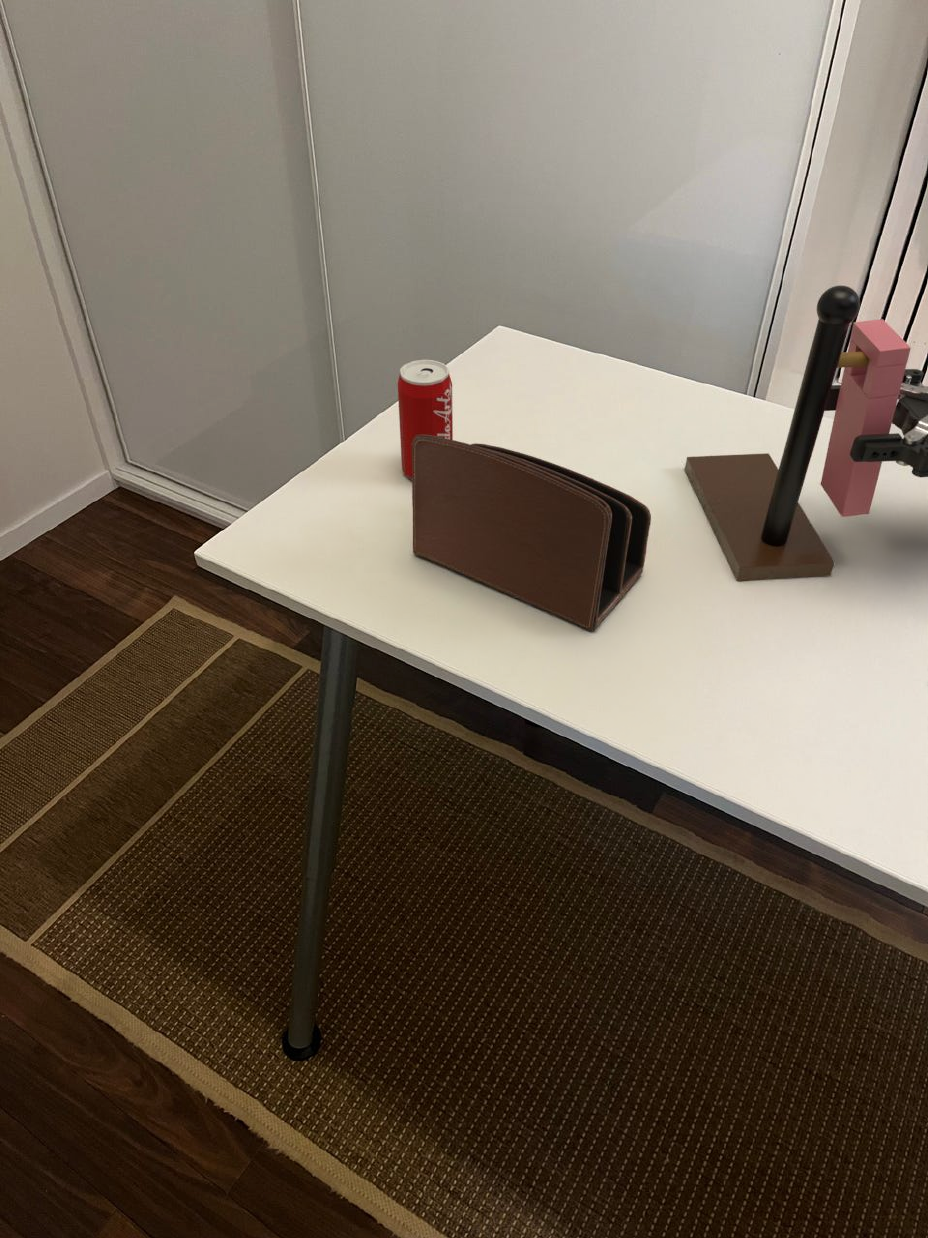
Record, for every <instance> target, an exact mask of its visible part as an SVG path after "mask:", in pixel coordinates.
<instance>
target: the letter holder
mask: <svg viewBox="0 0 928 1238" xmlns="http://www.w3.org/2000/svg"><path fill="white" fill-rule="evenodd" d="M412 470H413V473H412V474H413V478H412V481H411V500H412V502H411V503H412V552H413V554H414V555H416V556H419V557H422V558H424V559H426V560H428V561H431V562H433V563H435V564H438V565H440V566H443V567H445V568H447V569H450V570H452V571H455V572H456V573H459V574H461V575H463V576H466V577H467V578H470V579H472V580H475V581H477V582H480V583H482V584H483V585H486V586H489V587H491V588H493V589H495V590H497V591H500V592H502V593H504V594H506V595H509V596H510V597H513V598H515V599H517V600H520V601H522V602H524V603H526V604H529V605H531V606H533V607H536V608H538V609H540V610H543V611H544V612H547V613H549V614H551V615H553V616H556V617H559V618H560V619H563V620H565V621H567V622H569V623H572V624H574V625H577V626H580V627H582V628H583V629H585V630H588V631H589V632H591V633H592V632H595V630H596V629H597V627H598V626H599V625H600V624H601V623H602V621H603V620H604V619H605V618H606V617H607V616H608V615H609V614H610V612H611V611H612V610H613V609H614V608H615V606H616V605H617V604H618V603H619V602H620V600H621V599H622V598H623V597H624V596H625V595H626V593H627V592H628V591H630V588H632V586H633V585H634V584H635V582H636V581H637V580H638V579H639V578H640V577H641V575H642V574H643V572H644V567H645V562H646V554H647V547H648V540H649V534H650V530H651V529H650V528H651V524H652V523H651V522H652V514H651V511H650V509H649V507H648V506H646V505H645V504H644V503H643V502H641V501H640V500H637V499H636V498H634V497H633V496H631V495H630V494H627V493H625V492H623V491H621V490H619V489H617V488H615V487H612V486H610V485H608V484H606V483H603V482H601V481H600V480H599V481H598V480H596V479H594V478H592V477H589V476H587V475H585V474H582V473H580V472H577V471H574V470H572V469H569V468H567V467H565V466H561V465H558V464H556V463H553V462H550V461H547V460H544V459H541V458H538V457H535V456H533V455H530V454H526V453H522V452H519V451H516V450H512V449H508V448H504V447H501V446H495V445H491V444H487V443H486V444H485V443H476V442H475V443H467V442H463V441H458V440H454V439H453V440H450V439H446V438H441V437H436V436H432V435H423V434H421V435H417V436H415V438H414V439H413V442H412Z"/></svg>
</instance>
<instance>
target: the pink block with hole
mask: <svg viewBox="0 0 928 1238" xmlns="http://www.w3.org/2000/svg"><path fill="white" fill-rule="evenodd" d="M911 349H912V348H911V346H910V345H909V344H908V343H907V342H906V341H905V340H904V339H903V338H902V337H901V336H900V335H899V334H898V333H897V332H896V331H895V330H894V329H893V328H892V327H891V326H890V325H889V323H887V322H886V320H884V319H883V318H879V319H872V320H871V319H870V320H864V321H863V320H862V321H853V324H852V329H851V334H850V339H849V345H848V348H847V352H864V354H865V355H866V356H867V357H868V358H869V359H870V361H869V365H868V366H867V367H844V368H843V373H842V378H841V383H840V385H841V387H840V392H839V397H838V402H837V406H836V411H835V412H834V416H833V421H832V427H831V432H830V436H829V441H828V446H827V451H826V454H825V455H826V456H825V461H824V465H823V466H824V467H823V469H822V470H823V472H822V476H821V480H820V486H821V488H822V489H823V491H824V492H825V493H826V495H827V497H828V498H829V500H830V502H832V504H833V506H834V507H835V509H836V511H837V512H838V513H839V515H840V517H841V518H847V517H855V516H864V515H865V516H866V515H869V514H870V511H871V507H872V503H873V499H874V495H875V491H876V487H877V483H878V479H879V475H880V472H881V468H882V464H883V462H881V461H880V462H876V461H875V462H855V461H853V459H852V458H851V456H850V451H851V448H852V445H853V442H854V439H855V438H856V437H857V436H859V435H872V434H890V431H891V427H892V425H893V424H892V420H893V416H894V412H895V408H896V405H897V402H898V401H899V400H898V396H899V392H900V388H901V384H902V380H903V376H904V372H905V369H907V364H908V361H909V356H910V353H911Z"/></svg>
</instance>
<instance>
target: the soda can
mask: <svg viewBox="0 0 928 1238" xmlns="http://www.w3.org/2000/svg"><path fill="white" fill-rule="evenodd" d="M397 397H398V416H399V419H398V420H399V436H400V437H399V439H400V440H399V441H400V453H401V454H400V458H401V459H400V460H401V472H402V473H403V474H404V475H405V476H406V477H407V478H409V479H410V480H412V478H413V474H412V473H413V470H412V442H413V439H414V438H415V436H417V435H421V434H423V435H432V436H436V437H441V438H446V439H450V440H454V433H453V432H454V427H453V426H454V425H453V424H454V423H453V422H454V421H453V420H454V418H453V417H454V416H453V382H452V378H451V374H450V369H449V367H448V366H447V365H446V364H445V363H443V362H440V361H438V360H432V359H418V360H413V361H412V360H411V361H410V362H408V363H405V364H403V366H402V367H401V368H400V369H399V376H398V381H397Z"/></svg>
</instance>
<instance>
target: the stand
mask: <svg viewBox="0 0 928 1238" xmlns="http://www.w3.org/2000/svg"><path fill="white" fill-rule="evenodd" d="M860 309H861V301H860V297H859V294H858V292H857V291H855V290H854V288H852V287H849V286H847V285H834V286H831V287H830V288H828V289H826V290H824V292H823V293H822V294H821V295H820V297H819V298H818V300H817V304H816V314H817V318H818V320H817V324H816V326H815V327H816V328H815V332H814V335H813V338H812V343H811V346H810V351H809V354H808V358H807V360H806V361H807V362H806V365H805V369H804V373H803V376H802V380H801V384H800V388H799V392H798V395H797V399H796V403H795V406H794V410H793V415H792V419H791V421H790V424H789V428H788V434H787V436H786V441H785V444H784V448H783V452H782V455H781V459H780V463H779V467H778V466H777V465H776V463H775V461H774V459H773V458H772V457H771V455H770V453H769V452H767V453H747V454H746V453H745V454H744V453H743V454H724V455H723V454H722V455H702V456H701V455H700V456H687V457H686V460H685V466H684V471H685V473H686V475H687V477H688V479H689V482H690V484H691V486H692V488H693V490H694V492H695V495H696V497H697V499H698V501H699V503H700V505H701V507H702V509H703V512H704V514H705V516H706V518H707V520H708V521H709V524H710V526H711V529H712V531H713V533H714V535H715V537H716V540H717V541H718V544H719V546H720V548H721V550H722V552H723V555H724V556H725V559H726V560H727V563H728V565H729V567H730V569H731V571H732V573H733V575H734V578H735V579H736V581H737V582H742V581H743V582H744V581H760V580H761V581H762V580H778V579H796V578H797V579H798V578H799V579H800V578H818V577H831V575H832V573H833V570H834V566H835V564H836V562H835V561H834V559H833V557H832V555H831V554H830V552H829V551H828V549H827V547H826V545H825V544H824V542H823V541H822V539H821V537H820V536H819V534H818V532H817V531H816V529H815V527H814V526H813V524H812V522H811V520H810V519H809V518H808V516H807V514H806V513H805V511H804V509H803V508H802V506H801V504H800V503H799V502H800V501H799V500H800V498H801V497H800V496H801V493H802V490H803V487H804V484H805V481H806V480H805V479H806V477H807V473H808V469H809V466H810V463H811V459H812V456H813V453H814V449H815V446H816V441H817V439H818V435H819V431H820V428H821V425H822V421H823V417H824V414H825V412H826V411H825V407H826V404H827V401H828V397H829V394H830V390H831V387H832V385H833V384H834V379H835V376H836V373H837V369H838V368H841V369H842V368H845V367H867V366H868V365H869V361H870V359H869V358H868V357H867V356H866V355H865V354H864V352H848V351H846V352H845V351H844V352H843V348H844V345H845V341H846V339H847V334H848V333H849V332H848V331H849V328H850V325H851V323H852V322H854V321H855V319H856V318H857V316H858V315H859V312H860Z"/></svg>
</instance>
